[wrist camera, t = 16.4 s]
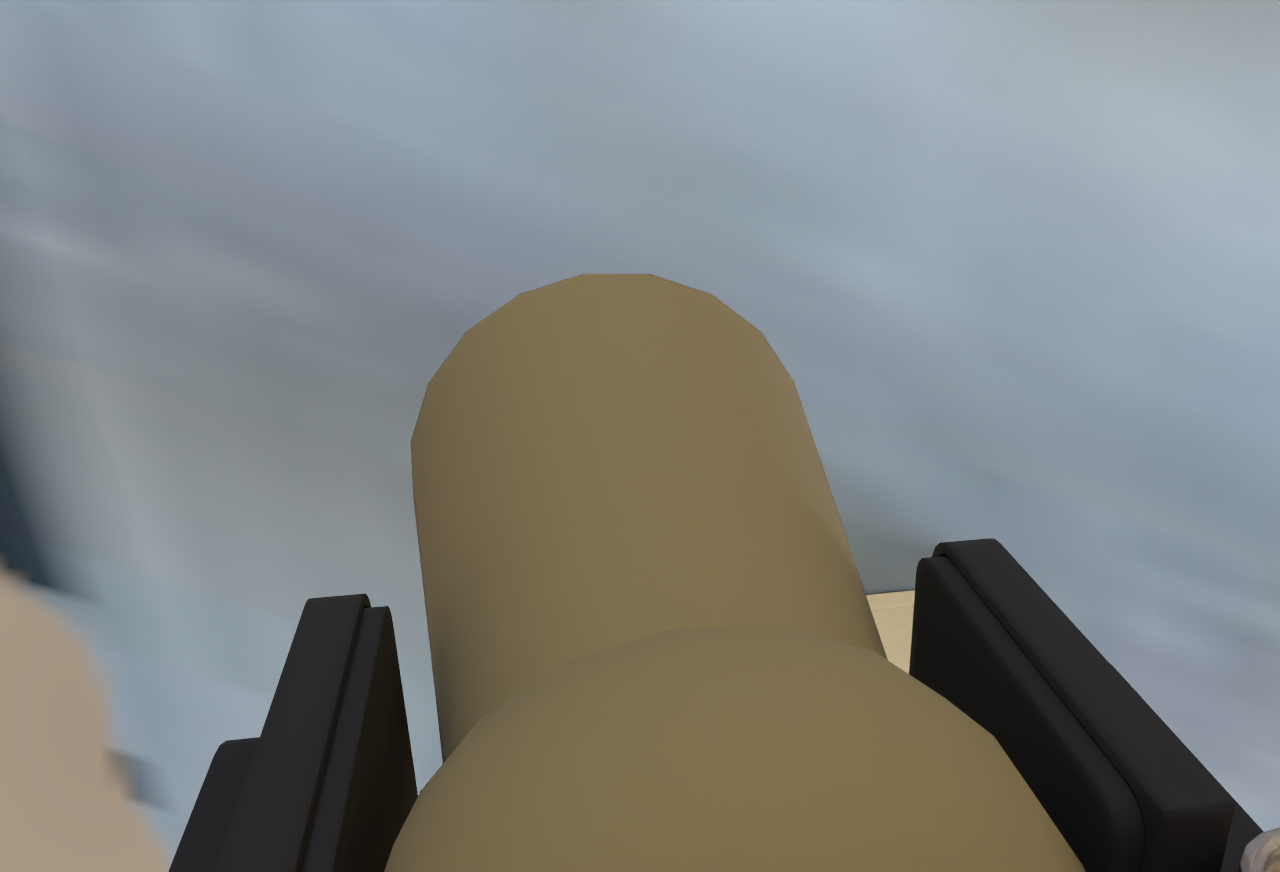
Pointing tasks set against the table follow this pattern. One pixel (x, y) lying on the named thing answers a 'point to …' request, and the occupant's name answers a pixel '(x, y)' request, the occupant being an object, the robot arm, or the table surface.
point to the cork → (668, 619)
